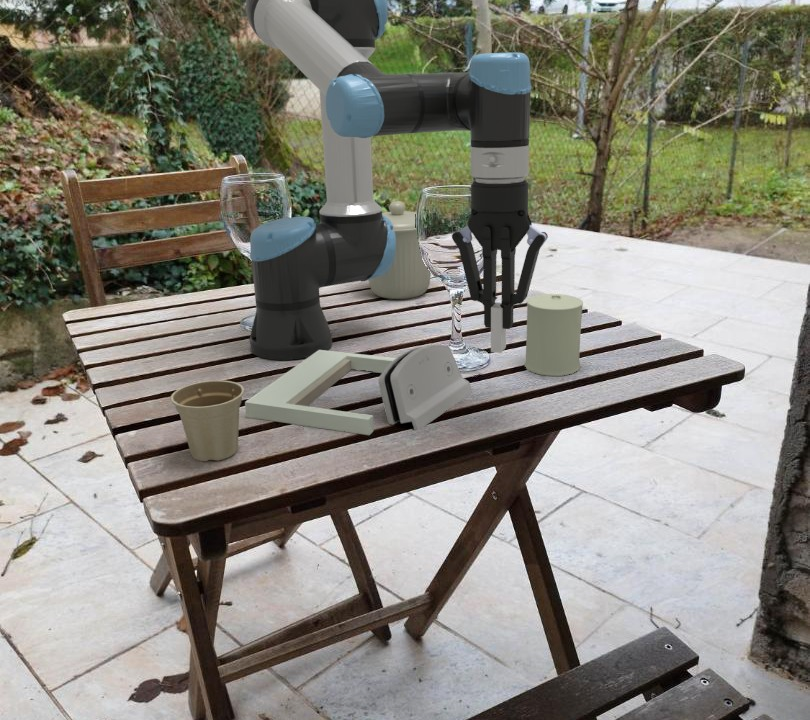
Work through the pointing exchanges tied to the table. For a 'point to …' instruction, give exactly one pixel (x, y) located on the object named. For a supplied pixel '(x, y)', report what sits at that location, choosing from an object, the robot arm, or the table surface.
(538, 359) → the can
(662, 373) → the table surface
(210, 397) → the flower pot
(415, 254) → the canister
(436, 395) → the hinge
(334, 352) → the beige flat angled piece
